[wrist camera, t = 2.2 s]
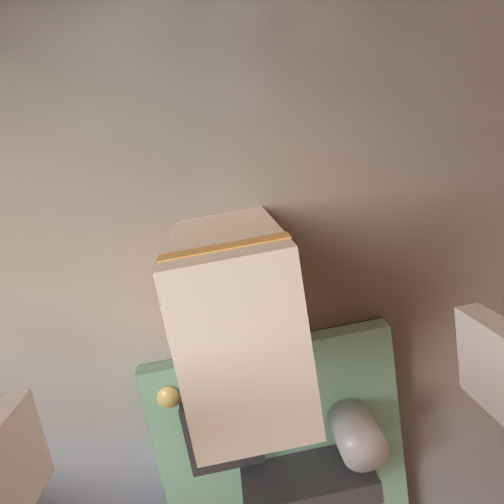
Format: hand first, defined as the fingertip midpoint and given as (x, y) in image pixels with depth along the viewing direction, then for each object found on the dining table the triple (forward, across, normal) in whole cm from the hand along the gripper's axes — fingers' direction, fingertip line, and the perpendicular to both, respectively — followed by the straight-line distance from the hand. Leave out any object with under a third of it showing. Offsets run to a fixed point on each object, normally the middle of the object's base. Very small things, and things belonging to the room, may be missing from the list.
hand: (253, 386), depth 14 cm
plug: (+11, 0, +1) cm, 11 cm away
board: (+11, +1, -13) cm, 17 cm away
